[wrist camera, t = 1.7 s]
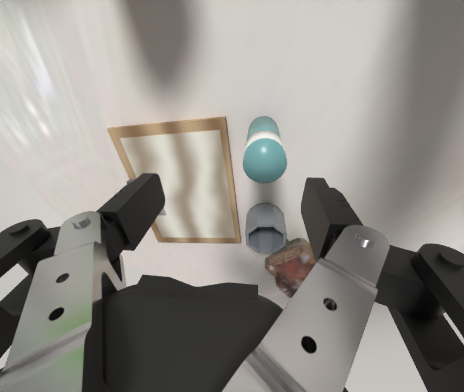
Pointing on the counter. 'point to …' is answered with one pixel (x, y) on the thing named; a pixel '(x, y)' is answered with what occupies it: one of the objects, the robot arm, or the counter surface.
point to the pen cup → (265, 228)
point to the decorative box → (291, 265)
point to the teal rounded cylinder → (264, 151)
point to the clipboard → (185, 176)
